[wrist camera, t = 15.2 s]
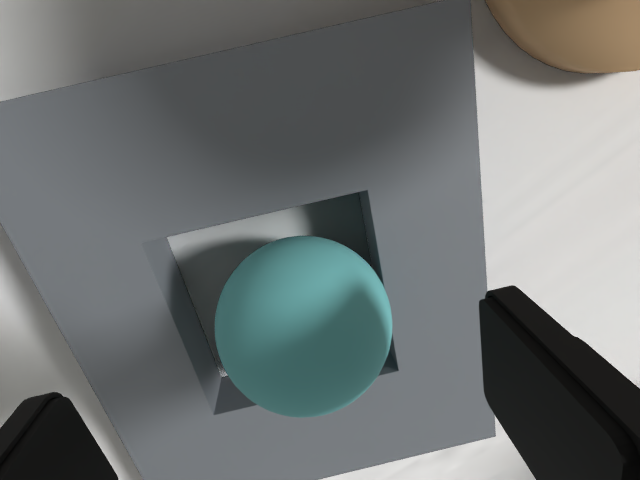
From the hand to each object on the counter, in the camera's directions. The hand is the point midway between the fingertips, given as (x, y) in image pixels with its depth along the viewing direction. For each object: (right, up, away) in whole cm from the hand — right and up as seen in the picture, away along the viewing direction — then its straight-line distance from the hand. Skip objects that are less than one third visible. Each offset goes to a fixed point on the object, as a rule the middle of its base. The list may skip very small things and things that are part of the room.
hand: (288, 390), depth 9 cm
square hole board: (-1, +2, +6) cm, 6 cm away
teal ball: (-1, +2, +6) cm, 6 cm away
